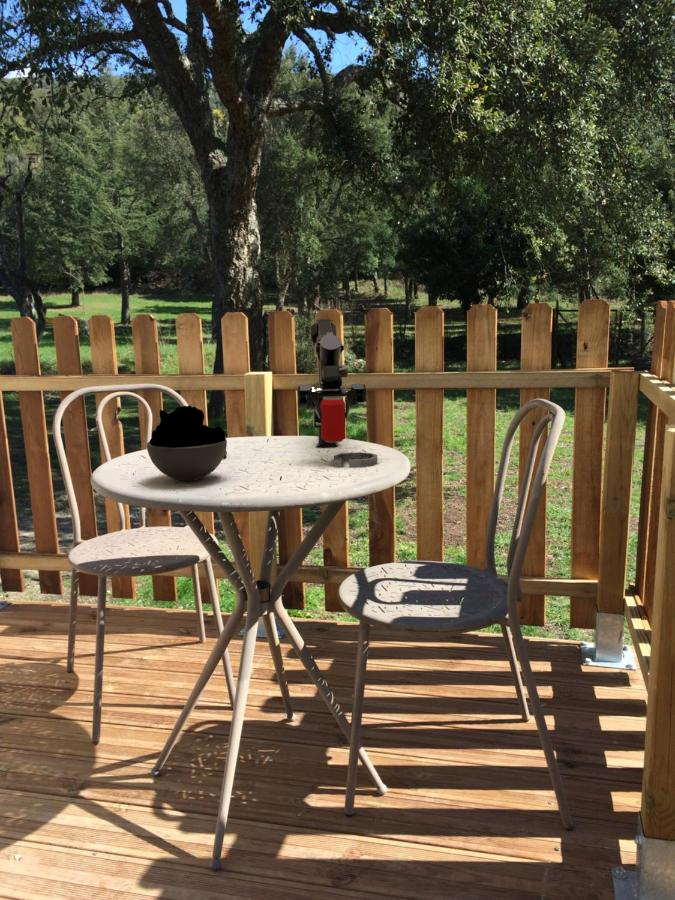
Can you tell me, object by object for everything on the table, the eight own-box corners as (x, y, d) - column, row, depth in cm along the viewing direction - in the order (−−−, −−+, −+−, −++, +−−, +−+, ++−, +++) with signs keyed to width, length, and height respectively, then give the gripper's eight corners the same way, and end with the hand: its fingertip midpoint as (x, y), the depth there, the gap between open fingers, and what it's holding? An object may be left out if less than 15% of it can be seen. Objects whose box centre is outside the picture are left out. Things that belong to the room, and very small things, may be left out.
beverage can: (339, 437, 213) (338, 395, 211) (350, 441, 207) (349, 397, 205) (317, 440, 210) (316, 397, 208) (327, 443, 204) (326, 399, 202)
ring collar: (334, 459, 217) (334, 452, 217) (377, 458, 216) (377, 452, 216) (331, 467, 205) (331, 460, 205) (377, 467, 204) (377, 459, 204)
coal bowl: (220, 469, 206) (216, 400, 203) (236, 483, 188) (232, 408, 184) (144, 476, 199) (140, 405, 196) (154, 492, 181) (148, 413, 178)
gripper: (296, 355, 207) (298, 400, 199) (364, 353, 209) (369, 398, 200) (297, 381, 217) (299, 425, 208) (362, 379, 218) (366, 423, 209)
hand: (333, 417), depth 206 cm, fingers closed on beverage can, 7 cm apart
